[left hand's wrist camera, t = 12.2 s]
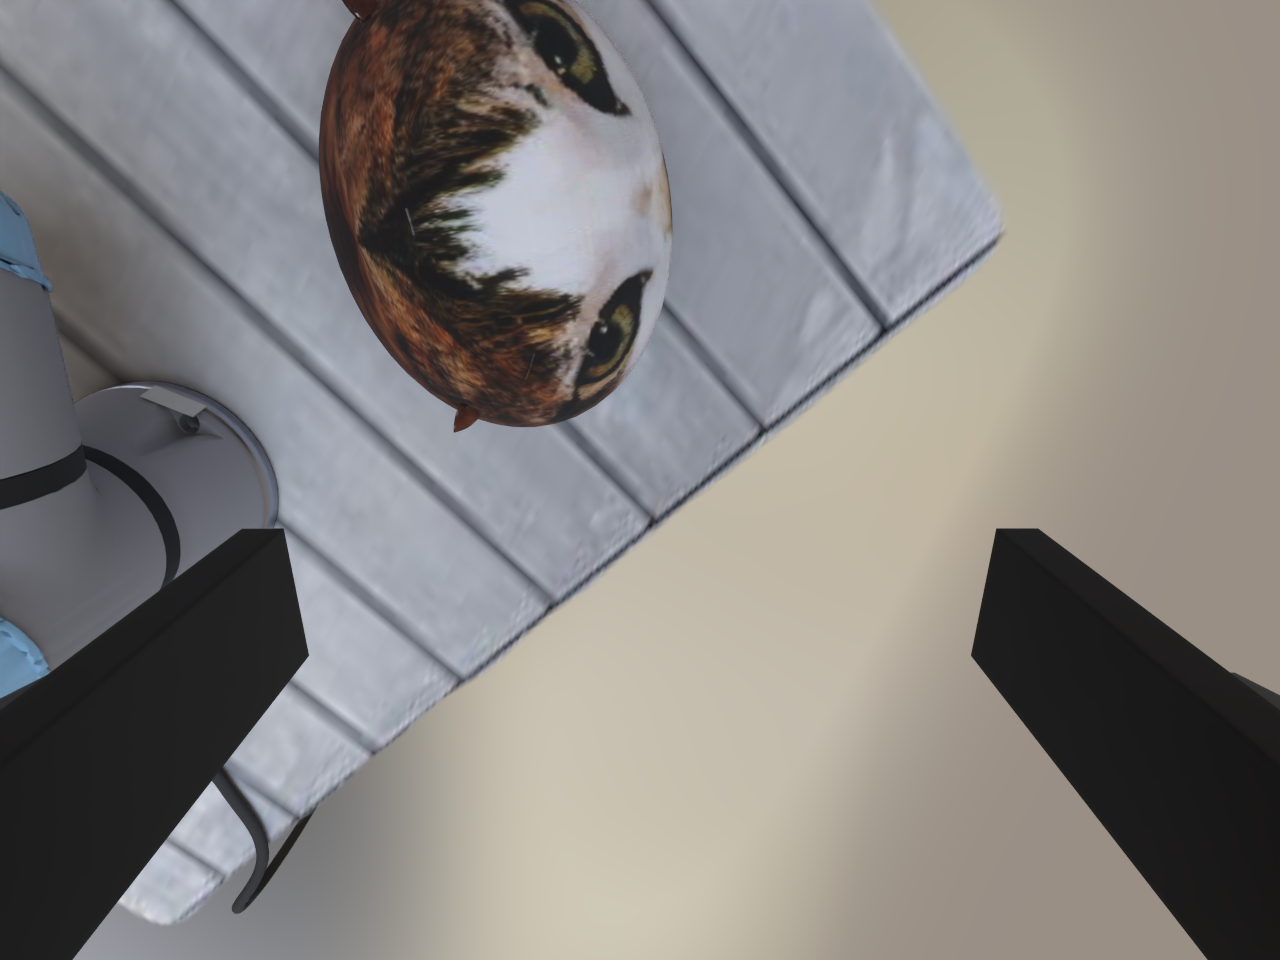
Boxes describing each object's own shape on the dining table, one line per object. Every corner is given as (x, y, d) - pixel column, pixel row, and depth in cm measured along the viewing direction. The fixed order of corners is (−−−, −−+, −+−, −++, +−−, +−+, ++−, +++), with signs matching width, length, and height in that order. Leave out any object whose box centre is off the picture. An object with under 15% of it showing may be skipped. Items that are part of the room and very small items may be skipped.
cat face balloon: (778, 373, 42) (543, 501, 28) (575, 365, 53) (337, 454, 39) (746, -66, 34) (392, -184, 20) (514, 35, 45) (187, 4, 31)
